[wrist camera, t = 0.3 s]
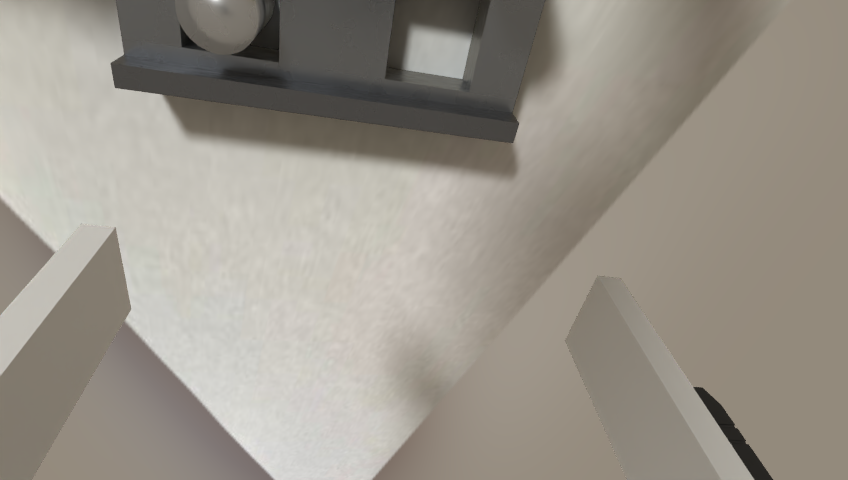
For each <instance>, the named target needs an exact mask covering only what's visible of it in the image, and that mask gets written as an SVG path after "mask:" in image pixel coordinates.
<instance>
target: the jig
mask: <svg viewBox="0 0 848 480" xmlns="http://www.w3.org/2000/svg"><path fill="white" fill-rule="evenodd" d="M544 2H545V0H480V4H479V9H478V13H477V17H476V22H475V26H474V31H473V35H472V40H471V44H470V49H469V53H468V58H467V62H466V67H465V71H464V75H463V80H462V79H456V78H450V77H444V76H437V75H431V74H425V73H419V72H413V71H406V70H400V69H394V68H388V67H386V66H387V59H388V52H389V44H390V37H391V29H392V22H393V15H394V7H395V0H280V36H279V50H276V49H269V48H263V47H257V46H251V45H248V46H247V47H246V48H245V49H244V50H242V51H240V52H238V53H235V54H230V55H221V54H215V53H212V52H209V51H207V50H205V49H203V48H201V47H200V46H198V45H197V44H196V43H194V42H193V41H192V40H191V39H190V38H189V37H188V35H187V34H186V33H185V31H184V30H183V28H182V27H181V25H180V23H179V20H178V18H177V14H176V9H175V0H116V4H117V10H118V17H119V23H120V30H121V36H122V42H123V49H124V55H123V56H121V57H120V58H118V59H116V60H115V61H113V62H112V63H111V68H112V74H113V80H114V85H115V88H120V89H127V90H134V91H142V92H149V93H156V94H163V95H170V96H177V97H185V98H192V99H199V100H206V101H213V102H221V103H228V104H235V105H242V106H249V107H256V108H264V109H271V110H278V111H285V112H292V113H300V114H307V115H314V116H321V117H328V118H336V119H343V120H350V121H357V122H364V123H371V124H379V125H386V126H393V127H400V128H407V129H415V130H422V131H429V132H436V133H443V134H450V135H458V136H465V137H472V138H479V139H486V140H494V141H501V142H508V143H513V142H514V138H515V135H516V132H517V129H518V125H519V122H518V121H517V119H516V118H515V116H514V115H513V113H512V112H513V109H514V105H515V102H516V98H517V95H518V92H519V88H520V85H521V81H522V78H523V74H524V71H525V68H526V64H527V61H528V57H529V54H530V50H531V47H532V44H533V40H534V37H535V33H536V30H537V26H538V23H539V20H540V16H541V13H542V9H543V6H544Z"/></svg>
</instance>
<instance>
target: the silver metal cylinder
mask: <svg viewBox="0 0 848 480" xmlns="http://www.w3.org/2000/svg"><path fill="white" fill-rule="evenodd" d="M175 9H176V14H177V18H178V20H179V23H180V25H181V27H182V28H183V30H184V31H185V33H186V34H187V35H188V37H189V38H190V39H191V40H192V41H193V42H194V43H196V44H197V45H198V46H200V47H201V48H203V49H205V50H207V51H209V52H212V53H215V54H221V55H230V54H235V53H238V52H240V51H242V50H244V49H245V48H246V47H247V46H248V45H249V44H250V43H251V42H252V41H253V40H254V38H255V37H256V36H257V35H258V34H259V32H260V31H261V30H262V29H263V28H264V26H265V25H266V24H267V23H268V21H269V20H270V18H271V16H272V14H273V10H274V0H175Z"/></svg>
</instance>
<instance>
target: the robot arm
mask: <svg viewBox="0 0 848 480" xmlns="http://www.w3.org/2000/svg"><path fill="white" fill-rule="evenodd" d="M130 310H131V305H130V300H129V295H128V290H127V285H126V279H125V274H124V269H123V264H122V259H121V253H120V248H119V243H118V238H117V232H116V227H107V226H97V225H87V224H81V225H80V226H79V227H78V228H77V229H76V231H75V232H74V233H73V234H72V235H71V236H70V237H69V238H68V240H67V241H66V242H65V243H64V244H63V245H62V246H61V247H60V249H59V250H58V251H57V252H56V253H55V254H54V255H53V256H52V258H51V259H50V260H49V261H48V262H47V263H46V264H45V266H44V267H43V268H42V269H41V270H40V271H39V272H38V274H37V275H36V276H35V277H34V278H33V279H32V280H31V281H30V283H28V285H27V286H26V287H25V288H24V289H23V290H22V291H21V292H20V294H19V295H18V296H17V297H16V298H15V299H14V301H12V303H11V304H10V305H9V306H8V307H7V308H6V309H5V310H4V312H3V313H2V314H1V315H0V480H32V479H33V477H34V475H35V473H36V472H37V470H38V468H39V467H40V465H41V463H42V461H43V460H44V458H45V456H46V454H47V453H48V451H49V449H50V448H51V446H52V444H53V442H54V440H55V439H56V437H57V435H58V434H59V432H60V430H61V428H62V427H63V425H64V424H65V422H66V420H67V418H68V417H69V415H70V413H71V412H72V410H73V408H74V406H75V405H76V403H77V401H78V400H79V398H80V396H81V394H82V393H83V391H84V389H85V387H86V386H87V384H88V382H89V381H90V379H91V377H92V375H93V373H94V372H95V370H96V369H97V367H98V365H99V363H100V362H101V360H102V358H103V357H104V355H105V353H106V351H107V350H108V348H109V346H110V344H111V343H112V341H113V339H114V338H115V336H116V334H117V332H118V331H119V329H120V327H121V326H122V324H123V322H124V321H125V319H126V317H127V315H128V314H129V312H130ZM565 342H566V344H567V346H568V348H569V351H570V353H571V355H572V357H573V359H574V362H575V364H576V366H577V369H578V371H579V373H580V375H581V377H582V380H583V382H584V384H585V387H586V389H587V391H588V393H589V395H590V398H591V400H592V402H593V405H594V407H595V409H596V411H597V413H598V416H599V418H600V420H601V423H602V425H603V427H604V430H605V432H606V434H607V436H608V438H609V441H610V443H611V445H612V448H613V450H614V452H615V454H616V457H617V459H618V461H619V463H620V466H621V468H622V470H623V472H624V475H625V476H626V479H627V480H773V479H772V478H771V476H770V475H769V473H768V472H767V470H766V469H765V467H764V466H763V464H762V463H761V462H760V460H759V459H758V457H757V456H756V454H755V453H754V452H753V450H752V449H751V447H750V446H749V445H748V444H746V443H745V441H746V440H745V439H744V437H743V436H742V434H741V433H740V431H739V430H738V429H737V428H735V427H734V425H735V424H734V423H733V421H732V420H731V418H730V417H729V416H728V414H727V413H726V411H725V410H724V408H723V407H722V406H721V405H720V404H719V403H718V402H717V401H716V400H715V399H714V398H713V397H712V396H711V395H710V394H709V393H708V392H707V391H705V390H704V389H703V388H699V387H693V386H692V385H691V383H690V382H689V380H688V379H687V377H686V376H685V374H684V373H683V371H682V370H681V368H680V367H679V365H678V364H677V362H676V361H675V359H674V358H673V357H672V355H671V353H670V352H669V350H668V349H667V348H666V346H665V344H664V343H663V341H662V340H661V338H660V337H659V335H658V334H657V332H656V331H655V329H654V328H653V326H652V325H651V323H650V322H649V320H648V319H647V317H646V316H645V314H644V313H643V311H642V310H641V308H640V307H639V305H638V303H637V302H636V300H635V299H634V297H633V296H632V294H631V293H630V291H629V290H628V288H627V287H626V285H625V284H624V282H623V281H622V279H621V278H613V277H604V276H597V278H596V280H595V282H594V284H593V286H592V288H591V290H590V292H589V294H588V296H587V298H586V300H585V302H584V304H583V306H582V308H581V310H580V312H579V314H578V316H577V318H576V320H575V322H574V324H573V326H572V328H571V330H570V332H569V334H568V336H567V338H566V340H565Z"/></svg>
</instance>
